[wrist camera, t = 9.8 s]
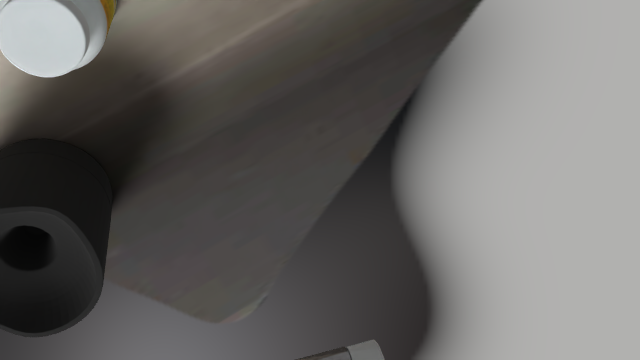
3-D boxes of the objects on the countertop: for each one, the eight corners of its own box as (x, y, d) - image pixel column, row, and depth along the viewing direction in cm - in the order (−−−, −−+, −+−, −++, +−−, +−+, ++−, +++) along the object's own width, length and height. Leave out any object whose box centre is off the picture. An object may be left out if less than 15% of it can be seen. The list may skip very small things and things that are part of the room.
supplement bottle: (18, 21, 35) (-31, 74, 27) (30, -67, 33) (-18, -39, 25) (109, 46, 37) (89, 103, 29) (126, -36, 35) (110, 1, 27)
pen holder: (14, 257, 43) (-26, 356, 35) (-51, 151, 38) (-116, 237, 30) (136, 224, 44) (126, 313, 36) (88, 115, 39) (63, 190, 31)
